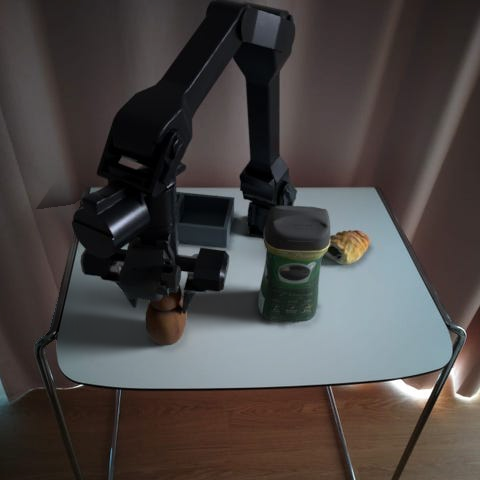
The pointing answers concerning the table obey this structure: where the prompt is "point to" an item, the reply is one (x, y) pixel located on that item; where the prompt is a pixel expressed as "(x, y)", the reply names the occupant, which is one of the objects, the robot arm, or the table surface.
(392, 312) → the table surface
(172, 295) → the wooden figurine
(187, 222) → the tray
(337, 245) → the pastry
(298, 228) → the coffee jar
